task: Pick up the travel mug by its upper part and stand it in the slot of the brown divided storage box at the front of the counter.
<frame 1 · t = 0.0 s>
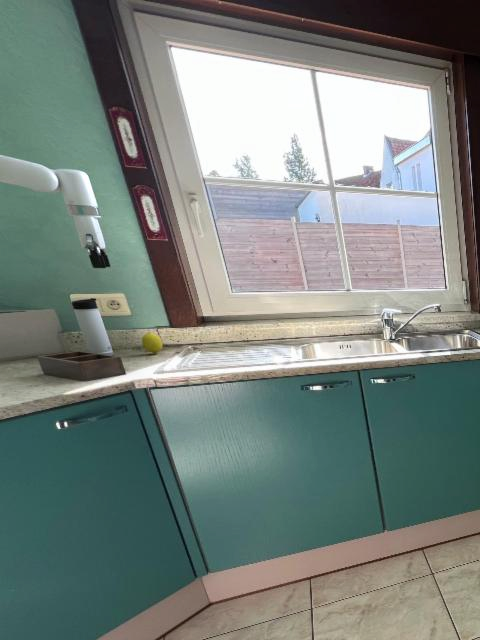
hand: (102, 267, 168), 31 cm above the worktop, tool pointing down, fingers open, 9 cm apart
brown divided storage box: (85, 374, 154), on the worktop
lemon: (155, 354, 185), on the worktop
travel mug: (103, 356, 179), on the worktop
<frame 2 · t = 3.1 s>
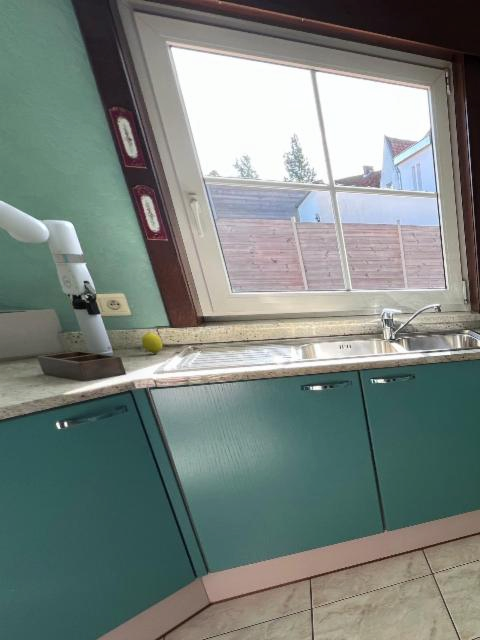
hand: (88, 313, 174), 15 cm above the worktop, tool pointing down, fingers closed on travel mug, 6 cm apart
travel mug: (103, 356, 179), on the worktop, touching gripper
everything else where it was.
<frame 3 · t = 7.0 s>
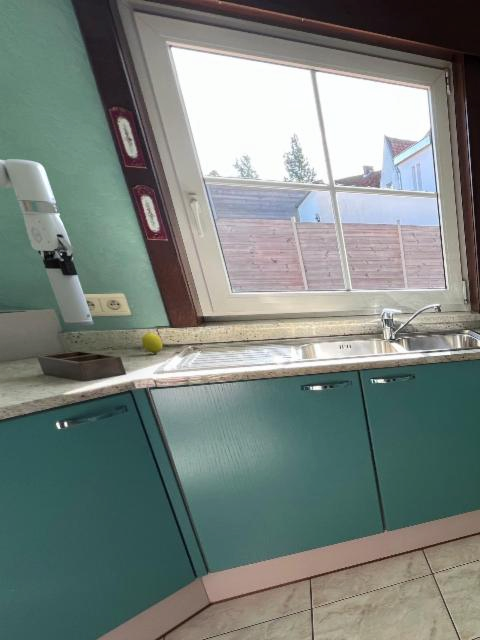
hand: (62, 274, 148), 30 cm above the worktop, tool pointing down, fingers closed on travel mug, 6 cm apart
travel mug: (81, 325, 154), point 14 cm above the worktop, touching gripper
everything else where it was.
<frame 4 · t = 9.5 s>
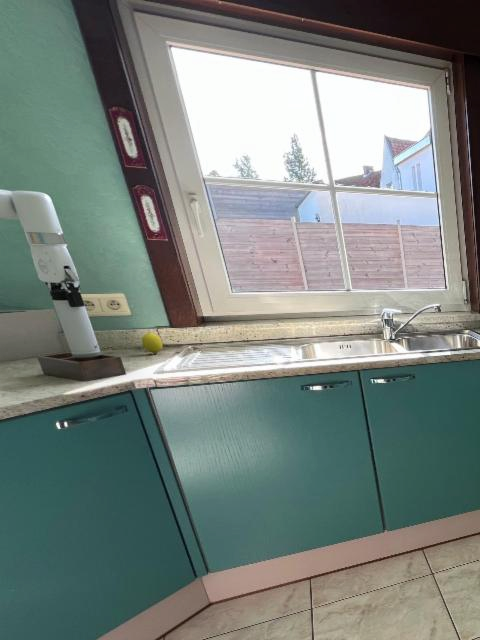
hand: (70, 305, 145), 21 cm above the worktop, tool pointing down, fingers closed on travel mug, 6 cm apart
travel mug: (88, 356, 151), point 6 cm above the worktop, touching gripper
everything else where it was.
when the fingers open (16 cm above the worktop, at t = 11.3 s): travel mug stays where it is, resting on brown divided storage box.
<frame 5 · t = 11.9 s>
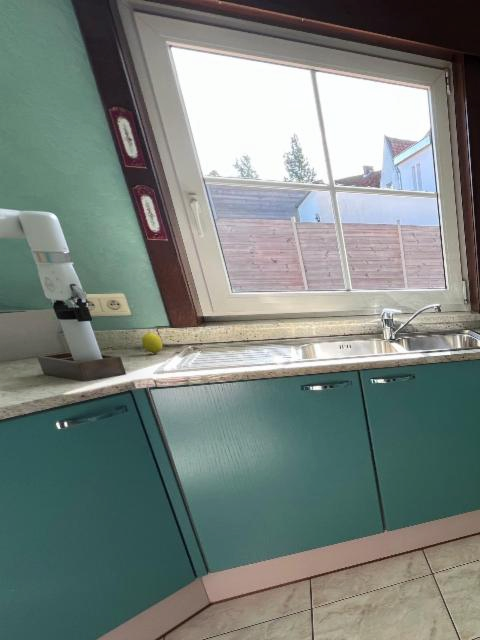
hand: (75, 320, 146), 17 cm above the worktop, tool pointing down, fingers open, 9 cm apart
travel mug: (94, 373, 153), point 1 cm above the worktop, touching brown divided storage box
everything else where it was.
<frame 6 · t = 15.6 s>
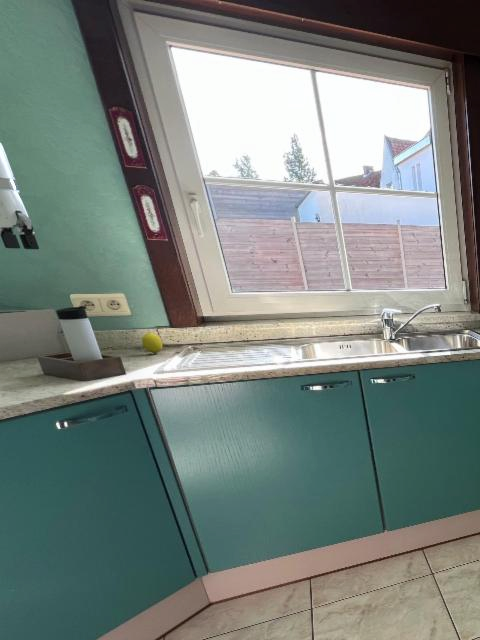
hand: (22, 248, 150), 36 cm above the worktop, tool pointing down, fingers open, 9 cm apart
nothing on the worktop moved.
at the end: travel mug 0.1 cm from the target spot in the brown divided storage box, point 0.6 cm above the brown divided storage box's base; travel mug tilted 0°; the gripper is holding nothing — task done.
